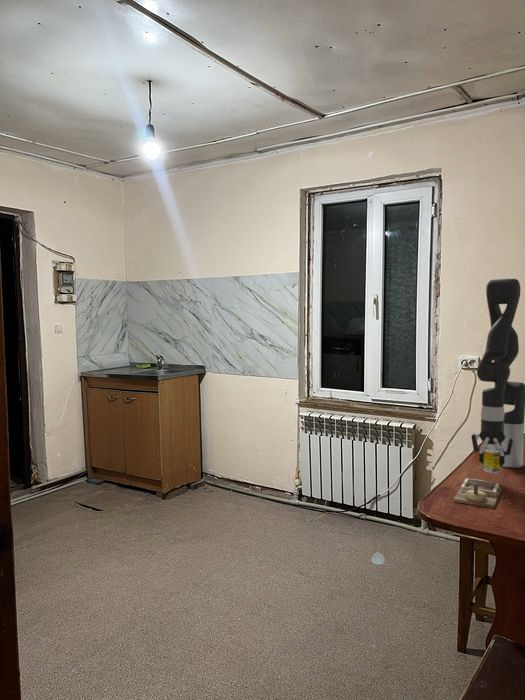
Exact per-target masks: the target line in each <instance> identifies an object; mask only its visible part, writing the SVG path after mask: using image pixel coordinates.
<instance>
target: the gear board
mask: <svg viewBox="0 0 525 700" xmlns="http://www.w3.org/2000/svg"><path fill="white" fill-rule="evenodd" d="M501 491H502V487H500V483H499V482H495V481H489V480H481V479H475V478H469V477H466V478H465V479H464V480H463V483H462V484H461V486H460V488H459V490H458V491H457V493H456V494H455V496H454V497H453V502H454V503H461V504H464V505H465V504H466V505H471V506H477V507H484V508H489V509H495V507H496V506H497V505H496V504H497V503H498V500H497V499H499V496H500V495H501Z"/></svg>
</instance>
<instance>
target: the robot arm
mask: <svg viewBox="0 0 525 700" xmlns="http://www.w3.org/2000/svg"><path fill="white" fill-rule="evenodd" d="M485 289H486V290H485V293H486V294H485V295H486V302H487V308H488V314H489V320H490V321H489V322H490V329H489V331H488V334H487V339H486V347H485V349H484V353H483V356H482V358H481V360H480V362H479V364H478V366H477V368H476V376H477V378H478V379H479V381H481V382H484V383H486V382H490V383H494V387H488V388H485V389H483V390H482V395H481V396H482V397H481V412H480V433H472V434H471V443H472V447H473V451H474V452H477V453H478V456H479V457H478V462H479V463H480V464H481V465H483V458H484V449H485V447H486V445H487V444H496V446H497V449H498V450H499V452H500V467H505V468H516V469H518V468H522V467H523V466H524V443H525V441H524V439H525V433H524V432H525V383H524V382H521V381H509V378H510V376H511V375H510V374H511V368H510V366H511V365H512V364H513V362H514V361H515V360H516V358H517V357H518V355H519V335H518V333H517V331H516V330H515V329H514V327H513V322H514V319H515V315H516V313H517V310H518V307H519V302H520V297H521V283H520V281H519V280H518V278H499V279H495V278H494V279H489V280H488V282H487V283H486V288H485ZM500 305H506V307H505V309H504V311H503V313H502V310H501V306H500ZM504 405H509V406H514V408H513V409H512V410H510V411H505V408H504V407H505V406H504ZM479 438H480V440H481V441H482V442H483V443H482V445H481V447H479V444H478V440H479Z"/></svg>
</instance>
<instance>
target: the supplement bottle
mask: <svg viewBox="0 0 525 700" xmlns="http://www.w3.org/2000/svg"><path fill="white" fill-rule="evenodd" d="M483 453H484V458H483V464H482V466H483V467H482V469H483V471H484V472H486V473H489V474H497V473H500V472H501V466H500V452H499V450H498V449H497V446H496V444H487V445H486V447H485V449H484V451H483Z"/></svg>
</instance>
